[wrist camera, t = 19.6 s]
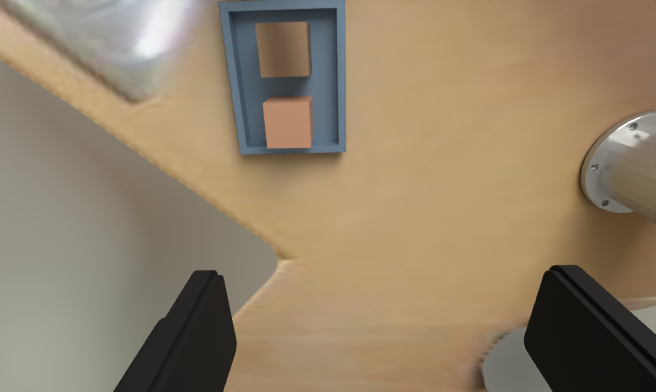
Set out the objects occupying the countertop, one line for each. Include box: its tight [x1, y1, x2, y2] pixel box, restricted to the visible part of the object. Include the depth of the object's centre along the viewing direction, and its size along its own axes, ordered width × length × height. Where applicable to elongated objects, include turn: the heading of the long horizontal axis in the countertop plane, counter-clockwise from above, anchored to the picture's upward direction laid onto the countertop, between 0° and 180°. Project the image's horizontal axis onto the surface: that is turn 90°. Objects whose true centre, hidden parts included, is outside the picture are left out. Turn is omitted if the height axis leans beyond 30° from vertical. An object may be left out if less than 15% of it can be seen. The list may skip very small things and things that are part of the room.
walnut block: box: [255, 22, 312, 78], centre depth 32 cm, size 4×4×5 cm
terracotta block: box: [263, 96, 314, 148], centre depth 34 cm, size 4×4×5 cm
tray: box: [218, 0, 346, 155], centre depth 35 cm, size 12×15×2 cm
